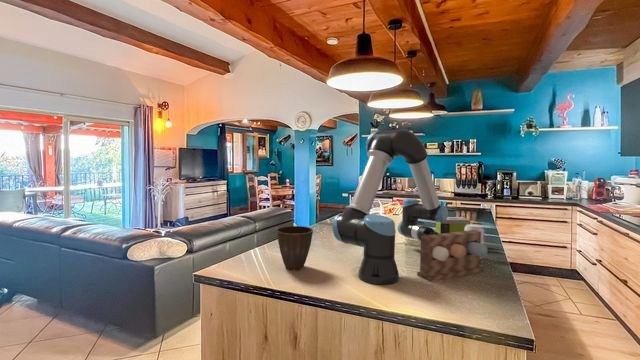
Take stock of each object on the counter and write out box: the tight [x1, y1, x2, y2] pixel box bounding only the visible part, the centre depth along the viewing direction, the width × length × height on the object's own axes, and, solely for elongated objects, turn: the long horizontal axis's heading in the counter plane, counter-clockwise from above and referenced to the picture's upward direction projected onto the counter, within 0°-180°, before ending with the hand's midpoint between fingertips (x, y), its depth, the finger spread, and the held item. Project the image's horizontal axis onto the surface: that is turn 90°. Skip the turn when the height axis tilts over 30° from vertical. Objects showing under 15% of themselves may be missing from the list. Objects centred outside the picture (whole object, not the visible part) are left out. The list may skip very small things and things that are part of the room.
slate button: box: [467, 241, 488, 258], centre depth 134 cm, size 5×9×5 cm, turn 25°
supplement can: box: [464, 223, 485, 260], centre depth 155 cm, size 8×8×15 cm
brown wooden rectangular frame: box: [416, 230, 484, 283], centre depth 133 cm, size 28×7×16 cm, turn 115°
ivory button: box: [432, 246, 449, 261], centre depth 128 cm, size 5×9×5 cm, turn 25°
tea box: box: [435, 216, 471, 234], centre depth 176 cm, size 15×10×15 cm, turn 84°
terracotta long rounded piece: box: [450, 243, 466, 258], centre depth 132 cm, size 5×9×5 cm, turn 25°
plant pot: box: [276, 225, 314, 271], centre depth 138 cm, size 15×15×16 cm
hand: (463, 245), depth 138 cm, fingers closed
